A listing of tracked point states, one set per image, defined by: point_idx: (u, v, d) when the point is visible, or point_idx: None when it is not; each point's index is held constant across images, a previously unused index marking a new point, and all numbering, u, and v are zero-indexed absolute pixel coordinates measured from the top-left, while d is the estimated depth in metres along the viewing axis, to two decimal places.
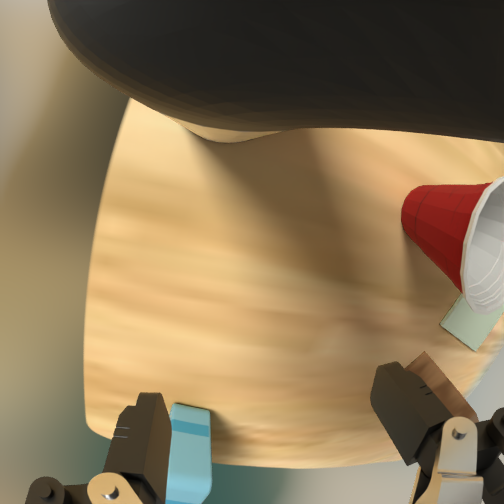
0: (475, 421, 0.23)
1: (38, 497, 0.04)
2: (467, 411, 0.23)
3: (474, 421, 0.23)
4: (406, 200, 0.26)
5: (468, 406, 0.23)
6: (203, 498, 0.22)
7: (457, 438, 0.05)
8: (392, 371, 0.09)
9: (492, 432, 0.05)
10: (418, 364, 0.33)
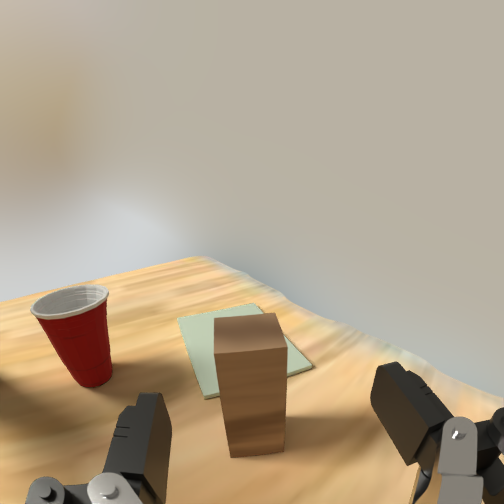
0: (249, 317, 0.24)
1: (38, 497, 0.04)
2: None
3: (245, 318, 0.23)
4: None
5: None
6: None
7: (457, 438, 0.05)
8: (392, 371, 0.09)
9: (492, 432, 0.05)
10: None
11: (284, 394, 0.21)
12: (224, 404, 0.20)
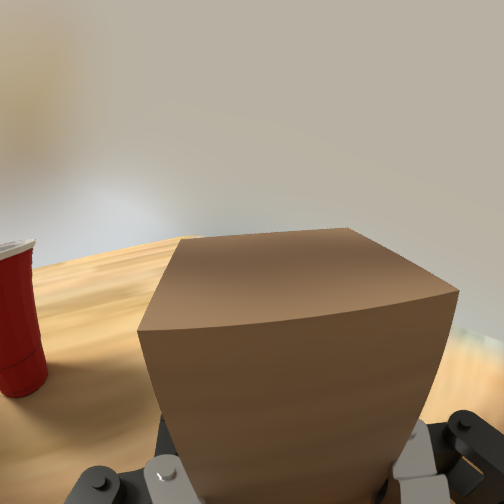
0: (283, 235, 0.08)
1: (89, 485, 0.05)
2: None
3: (271, 237, 0.08)
4: None
5: None
6: None
7: None
8: None
9: (450, 437, 0.06)
10: None
11: (395, 457, 0.05)
12: (208, 501, 0.05)
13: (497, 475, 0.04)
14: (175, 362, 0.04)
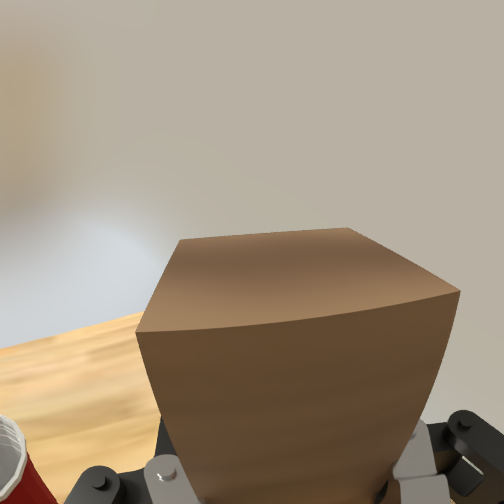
0: (283, 235, 0.08)
1: (88, 485, 0.05)
2: None
3: (271, 237, 0.08)
4: None
5: None
6: None
7: None
8: None
9: (450, 437, 0.06)
10: None
11: (395, 458, 0.05)
12: (208, 502, 0.05)
13: (497, 475, 0.04)
14: (174, 364, 0.04)
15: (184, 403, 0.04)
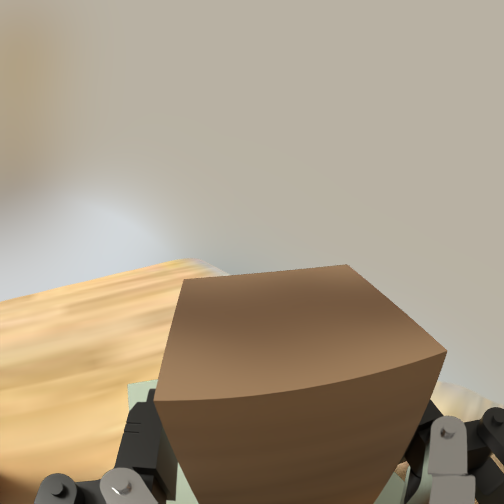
0: (284, 276, 0.08)
1: (49, 494, 0.04)
2: None
3: (272, 278, 0.08)
4: None
5: None
6: None
7: (445, 438, 0.05)
8: None
9: (483, 433, 0.05)
10: None
11: (384, 480, 0.06)
12: None
13: None
14: (188, 423, 0.04)
15: (196, 449, 0.04)
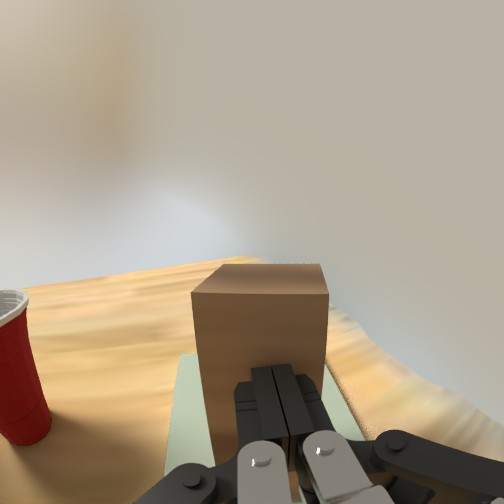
0: (277, 265, 0.15)
1: (178, 482, 0.05)
2: None
3: (270, 266, 0.15)
4: None
5: None
6: None
7: (316, 454, 0.06)
8: (279, 372, 0.10)
9: (381, 462, 0.06)
10: None
11: None
12: (209, 402, 0.12)
13: (451, 489, 0.04)
14: (202, 306, 0.11)
15: (204, 325, 0.11)
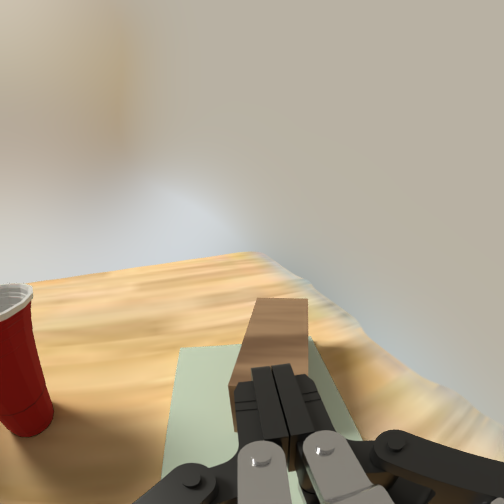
0: None
1: (178, 482, 0.05)
2: None
3: None
4: None
5: None
6: None
7: (316, 454, 0.06)
8: (279, 372, 0.10)
9: (381, 463, 0.06)
10: None
11: (306, 322, 0.24)
12: (251, 323, 0.25)
13: (451, 489, 0.04)
14: (260, 300, 0.29)
15: (259, 303, 0.28)
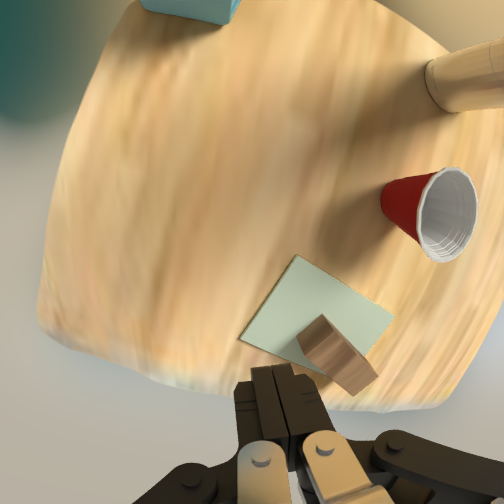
0: None
1: (179, 482, 0.05)
2: (364, 357, 0.43)
3: None
4: None
5: None
6: None
7: (316, 454, 0.06)
8: (279, 372, 0.10)
9: (381, 463, 0.06)
10: (330, 323, 0.39)
11: (338, 383, 0.39)
12: (362, 362, 0.38)
13: (451, 489, 0.04)
14: (374, 376, 0.39)
15: (372, 374, 0.39)
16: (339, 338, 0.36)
